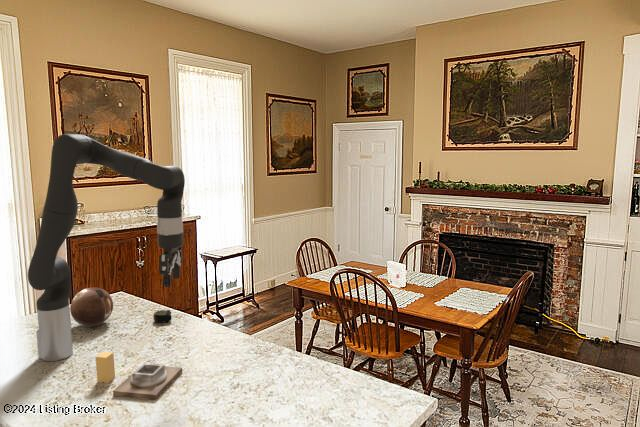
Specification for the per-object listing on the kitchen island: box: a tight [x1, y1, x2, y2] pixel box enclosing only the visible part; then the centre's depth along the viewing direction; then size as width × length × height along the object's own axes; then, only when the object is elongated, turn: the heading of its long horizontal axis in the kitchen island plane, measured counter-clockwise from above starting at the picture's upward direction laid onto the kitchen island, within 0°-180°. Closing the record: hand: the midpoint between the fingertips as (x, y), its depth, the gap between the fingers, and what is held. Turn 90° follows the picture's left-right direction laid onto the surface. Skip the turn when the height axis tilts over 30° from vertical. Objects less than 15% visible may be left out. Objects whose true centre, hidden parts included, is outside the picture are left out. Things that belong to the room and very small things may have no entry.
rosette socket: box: [112, 362, 183, 401], centre depth 135 cm, size 13×16×4 cm
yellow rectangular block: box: [95, 351, 116, 384], centre depth 137 cm, size 4×4×8 cm
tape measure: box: [153, 309, 172, 324], centre depth 184 cm, size 7×7×4 cm
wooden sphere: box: [69, 286, 114, 328], centre depth 179 cm, size 15×15×15 cm
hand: (172, 282), depth 142 cm, fingers open, 8 cm apart
